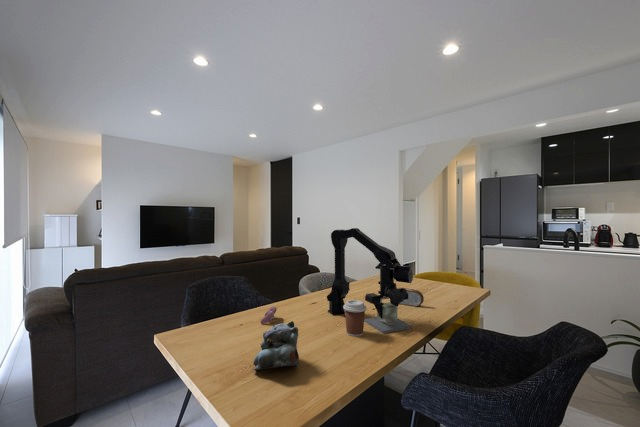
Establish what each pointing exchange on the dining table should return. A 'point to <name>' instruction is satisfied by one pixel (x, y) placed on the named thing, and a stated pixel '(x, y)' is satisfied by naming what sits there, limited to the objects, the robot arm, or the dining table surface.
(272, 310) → the pink frog figurine
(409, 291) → the tin
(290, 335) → the lucky cat figurine
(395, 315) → the sage block
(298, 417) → the dining table surface
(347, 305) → the coffee cup
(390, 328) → the gray board
